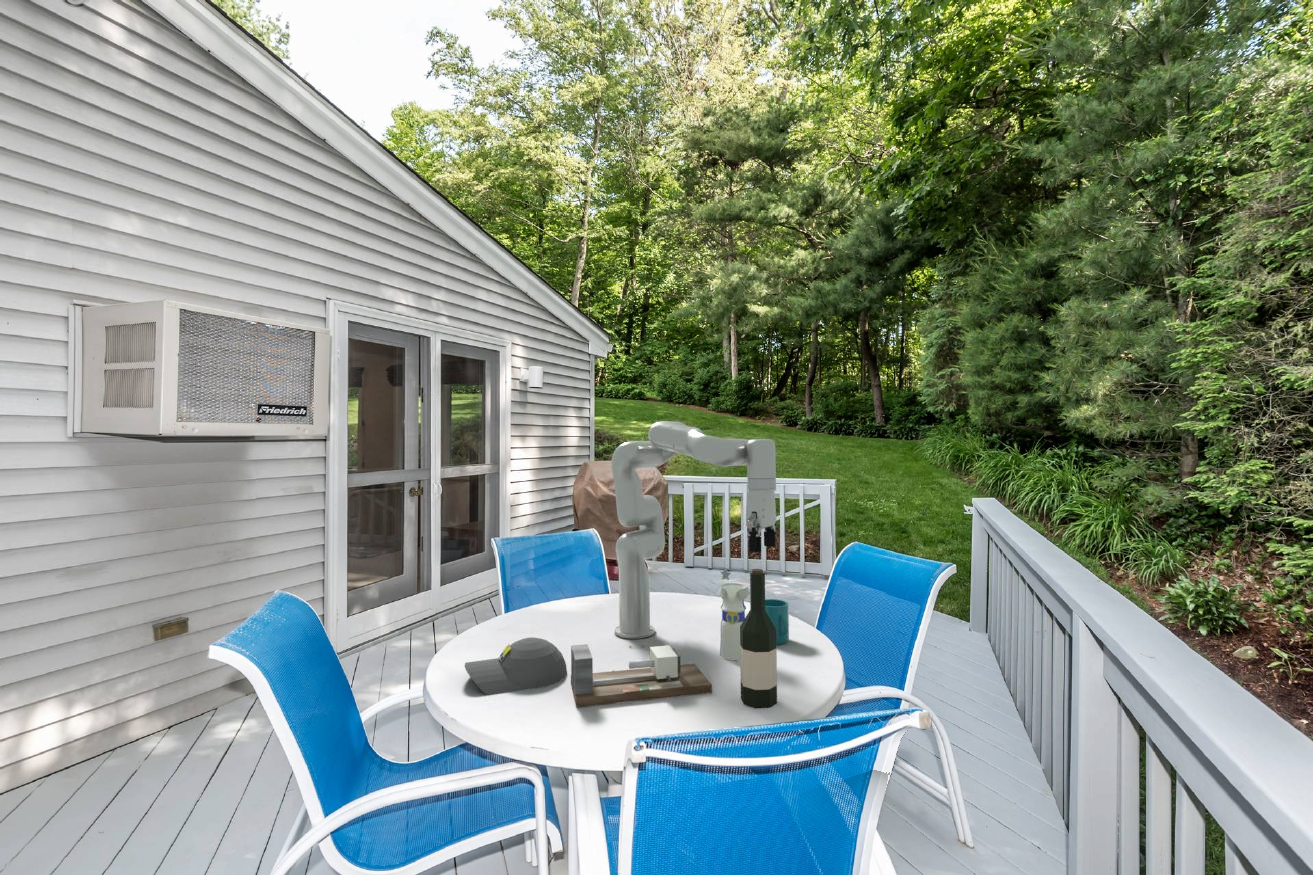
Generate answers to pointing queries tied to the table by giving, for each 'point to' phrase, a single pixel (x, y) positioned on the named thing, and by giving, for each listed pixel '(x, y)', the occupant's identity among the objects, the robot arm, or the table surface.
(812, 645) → the table surface
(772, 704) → the wine bottle
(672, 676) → the white block grey face
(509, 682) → the baseball cap
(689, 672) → the base
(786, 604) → the cup
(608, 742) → the table surface
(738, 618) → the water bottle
